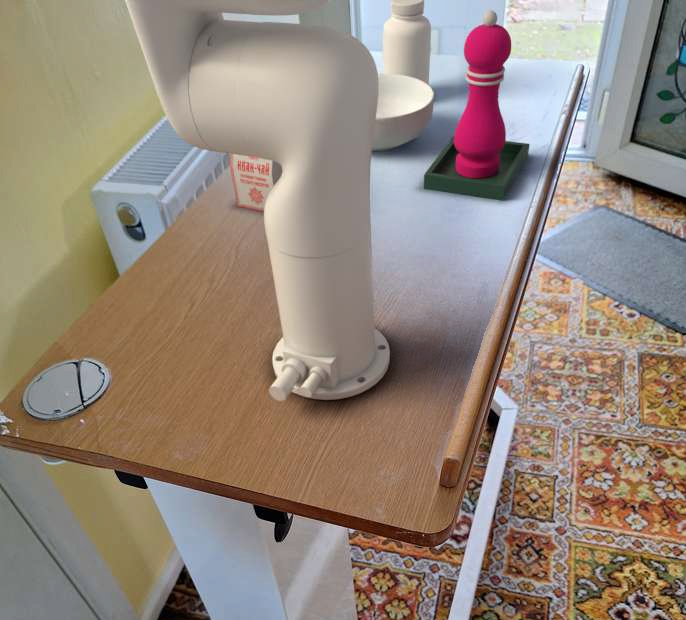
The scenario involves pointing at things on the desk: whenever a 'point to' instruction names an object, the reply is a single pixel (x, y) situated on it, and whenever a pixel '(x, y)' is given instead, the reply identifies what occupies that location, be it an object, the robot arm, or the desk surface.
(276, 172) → the printed tea carton
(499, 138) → the pepper mill
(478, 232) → the desk surface
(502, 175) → the tray
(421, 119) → the cereal bowl
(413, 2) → the pill bottle
